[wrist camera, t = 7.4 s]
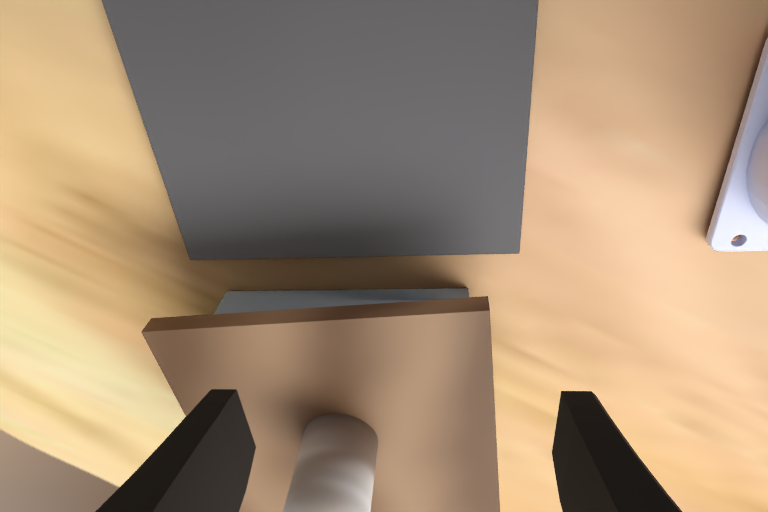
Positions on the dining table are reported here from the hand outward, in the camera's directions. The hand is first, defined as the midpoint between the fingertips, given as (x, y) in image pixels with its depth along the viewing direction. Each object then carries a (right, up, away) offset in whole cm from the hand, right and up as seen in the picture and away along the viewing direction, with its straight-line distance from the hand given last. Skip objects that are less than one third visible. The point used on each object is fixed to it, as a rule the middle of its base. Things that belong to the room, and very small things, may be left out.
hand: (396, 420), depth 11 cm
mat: (-2, +10, +6) cm, 12 cm away
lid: (-2, -4, +11) cm, 12 cm away
